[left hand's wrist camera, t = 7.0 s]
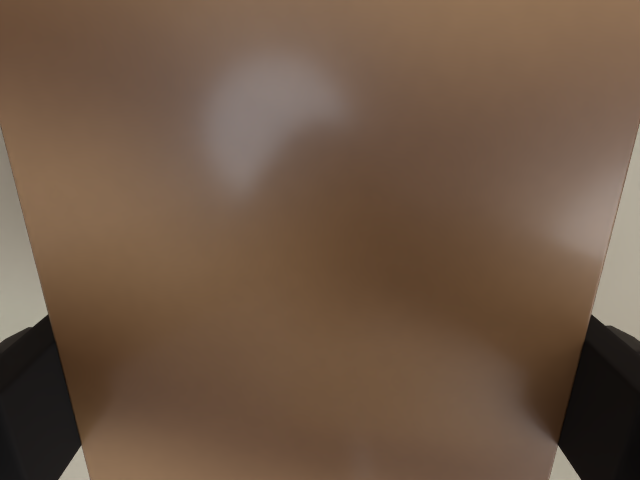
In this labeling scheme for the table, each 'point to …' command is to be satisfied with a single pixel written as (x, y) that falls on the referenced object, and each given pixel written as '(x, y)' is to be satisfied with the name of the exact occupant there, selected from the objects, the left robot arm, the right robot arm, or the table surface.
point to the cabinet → (319, 225)
